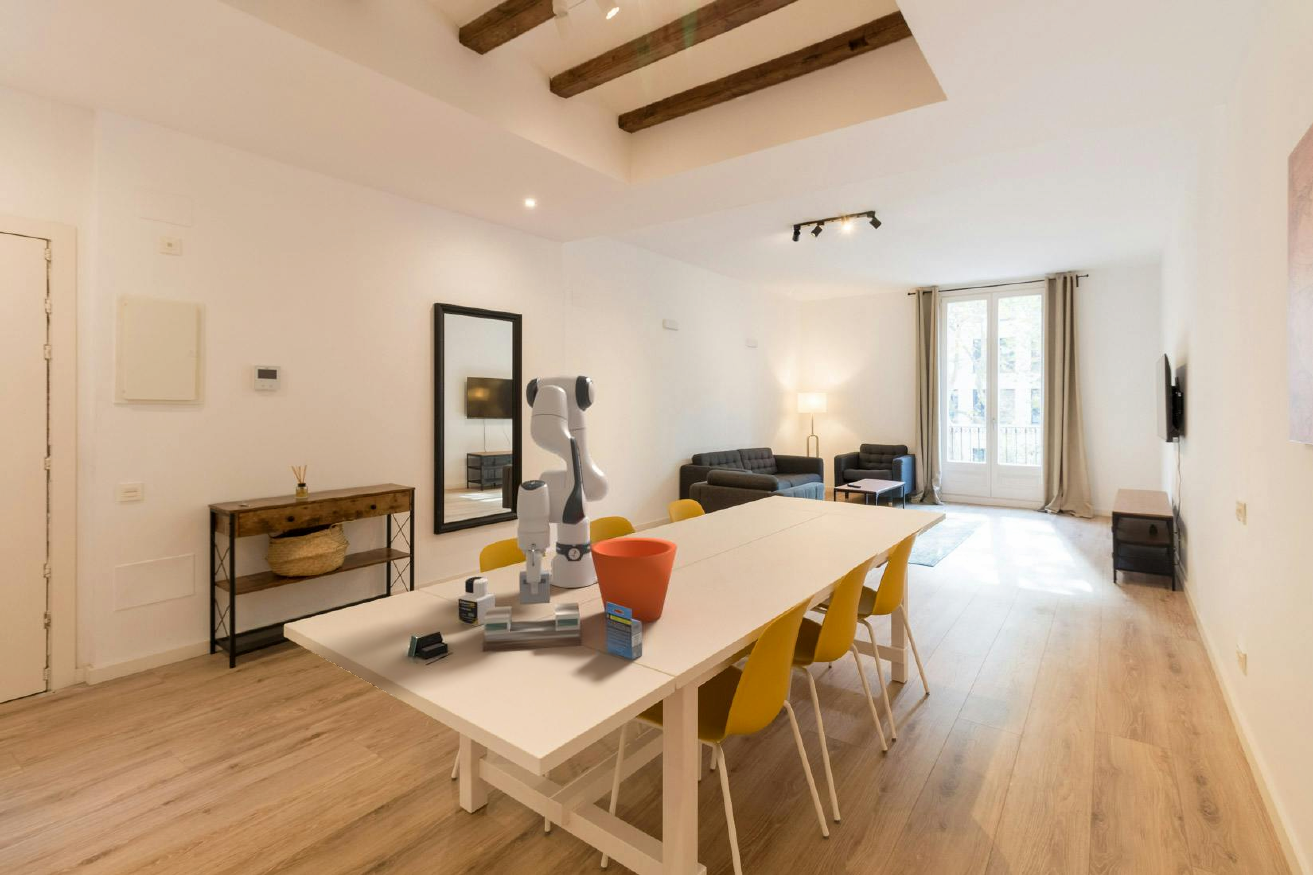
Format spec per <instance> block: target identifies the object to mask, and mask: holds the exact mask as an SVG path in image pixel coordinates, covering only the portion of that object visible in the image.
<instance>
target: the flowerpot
mask: <svg viewBox="0 0 1313 875" xmlns="http://www.w3.org/2000/svg"><path fill="white" fill-rule="evenodd" d="M677 549H678V545H677V544H676V543H674V542H673V541H669V540H666V539H661V538H654V537H653V538H652V537H635V536H633V537H617V538H610V539H604V540H599V541H596V542H594V543H591V546H590V550H591V555H592V559H593V563H594V567H595V572H596V576H597V580H598V582H597V583H598V584H597V585H598V588H599V592H600V595H601V596H600V597H601V600H602V604H603V609H604V614H605V615H606V606H607V602H609V603H612V604H616V605H619V606H622V607H625V608H628V609H632V615H631V619H634V620H638V621H641V625H642V624H647V623H652V622H655V621H657V620H658V619H661V617H662V614H663V610H664V606H665V601H666V595H667V592H668V590H669V589H668V588H669V584H670V580H671V579H670V578H671V575H672V571H673V566H674V561H675V557H676V553H677ZM614 611H615V612H617V613H620V614H623V612H622V611H620V610H619V609H618V610H616V609H614ZM654 620H655V621H654Z"/></svg>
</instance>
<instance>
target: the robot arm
mask: <svg viewBox="0 0 1313 875" xmlns="http://www.w3.org/2000/svg"><path fill="white" fill-rule="evenodd" d="M525 397H526V403H527V404H528V406H529V407H530V408H531V409H532V410H531V416H530V427H529V428H530V430H529V431H530V436H531V439H532V441H533V442H534V443H535V445H537V446H538V447H539V448H541V449H542V450H545V451H547V452H550V453H552V454H555V455H557V456H558V457H560V458H561V459H562V460H564V461H565V463H566V468H563V467H557V468H556V467H555V468H551V469H545V470H544V471H543V472H542V473H541V474H540V475H539V478H538V479H532V480H526V481H524V482H522V483H520V484H519V486H518V492H517V503H516V515H517V520H518V526H517V548H518V549H519V550H522V554H523V555H526V557H525V562H526V563H525V568H526V570H525V571H526V580H527V583H530V585H531V594H537V593H538V583H540V581H541V571H542V568H543V566H542V564H543V556H544V554H546V553H547V549H549V548H550V547H551V526H550V524H556V532H557V533H556V537H557V539H556V542H555V553H556V554H555V555H554V557H552V559H551V560H550V567H551V569H550V573H551V574H550V585H551V586H554V587H555V586H556V587H560V588H569V589H570V588H573V589H574V588H583V587H588V586H591V585H593V584H595V583H598V580H597V576H596V572H595V567H594V563H593V559H592V555H591V550H590V546H591V545H592V541H591V536H590V535H591V524H590V523H591V521H590V517H589V516H588V515H587V512H588V503H593V502H598V501H602V500H604V498H606V497H607V495H608V492H609V488H610V482H609V479H608V476H607V475H606V473H604V472H603V471H602V470H601V469H600V468H599V467H598V466H597V465H596V464H595V462H594V460H593V458H592V456H591V454H590V451H589V450H590V449H589V443H588V430H587V418H586V414H585V411H586V410H587V409H588V408H590V407H591V406H592V405H593V403H594V400H595V397H596V389H595V386H594V382H593V380H592V379H591V378H590V377H588V376H583V375H578V376H577V375H558V376H556V375H555V376H549V377H536V378H534V379H530V381H529V382H528V383H527V385H526V389H525Z"/></svg>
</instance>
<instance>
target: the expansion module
mask: <svg viewBox="0 0 1313 875" xmlns="http://www.w3.org/2000/svg"><path fill="white" fill-rule="evenodd" d="M550 575H551V574H550V570H549V569H547V570H546V569H545V570H541V581H540V583H538V593H537V594H531V585H530V583H527V580H526V570H525V571H524V570H523V571H519V580H518V581H519V583H518V584H519V606H522V605H536V604H537V605H538V604H550V603H551V601H550V600H551V593H550V592H551V591H550V589H551V587H550V585H551V584H550Z"/></svg>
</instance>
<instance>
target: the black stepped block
mask: <svg viewBox="0 0 1313 875" xmlns="http://www.w3.org/2000/svg"><path fill="white" fill-rule="evenodd" d="M443 641H444V639H443V636H442V634H441V631H436V632H433V633H429V634H426V635H423V636H420V637H417V636H415V635H414V634H411V636H410V641H409V644H408V649H407V650H408V651H407V657H408V658H411V659H412V662H414V663H415V664H418V662H417V661H416V660H414V657H415V656H416V655H417V657H418V658H419V659H422V660H425V661H428V660H431V659H434V658H436V657H439V658H437V659H435V660H433V661H430V662H428V663H426V664H425V665H426V666H428V665H431V664H433V663H435V662H437V661H439V660H441V659H443V660H444V659H445V658H447V657H448V656H450V655H453V652H450V653H448V652H449V649H448V647H449V644H448V643H446V642H443ZM445 654H446V655H445Z"/></svg>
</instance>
